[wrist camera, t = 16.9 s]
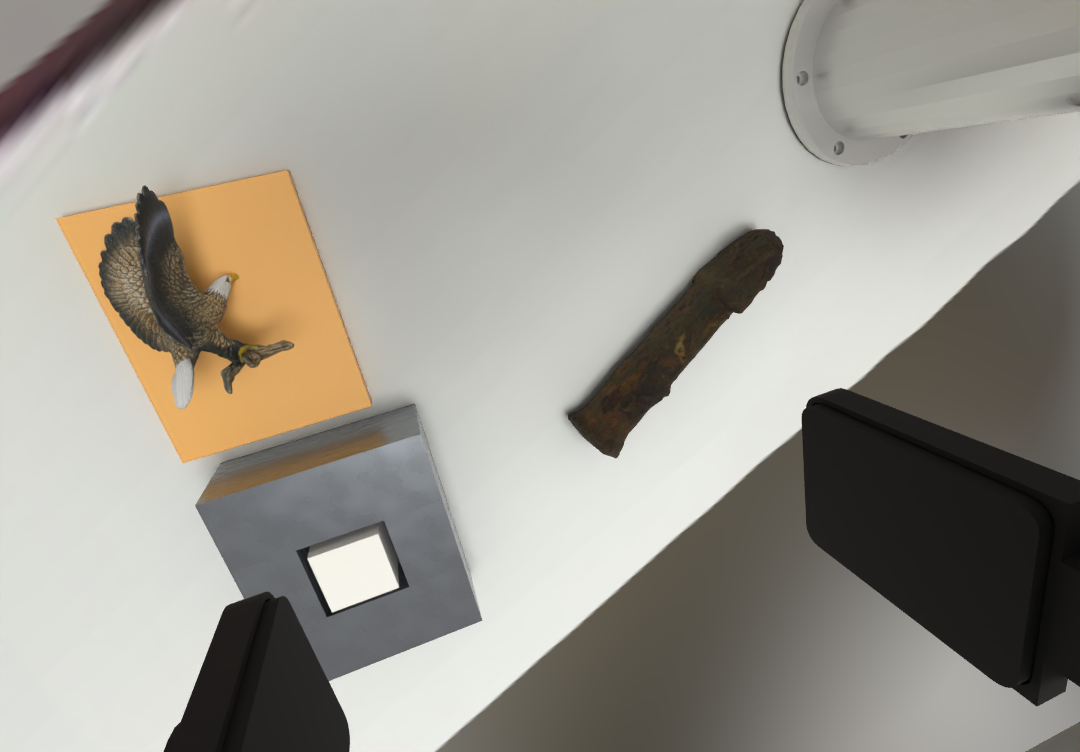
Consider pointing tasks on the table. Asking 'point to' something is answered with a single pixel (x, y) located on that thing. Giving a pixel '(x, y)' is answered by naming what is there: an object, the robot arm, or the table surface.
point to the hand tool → (679, 339)
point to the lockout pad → (241, 315)
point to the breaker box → (338, 508)
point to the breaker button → (355, 566)
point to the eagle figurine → (170, 298)
